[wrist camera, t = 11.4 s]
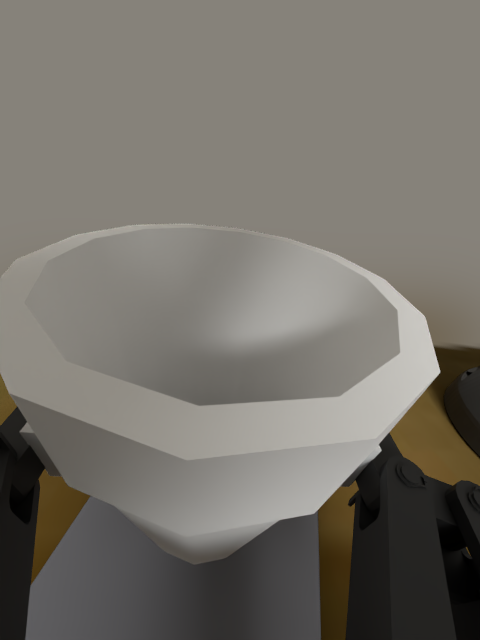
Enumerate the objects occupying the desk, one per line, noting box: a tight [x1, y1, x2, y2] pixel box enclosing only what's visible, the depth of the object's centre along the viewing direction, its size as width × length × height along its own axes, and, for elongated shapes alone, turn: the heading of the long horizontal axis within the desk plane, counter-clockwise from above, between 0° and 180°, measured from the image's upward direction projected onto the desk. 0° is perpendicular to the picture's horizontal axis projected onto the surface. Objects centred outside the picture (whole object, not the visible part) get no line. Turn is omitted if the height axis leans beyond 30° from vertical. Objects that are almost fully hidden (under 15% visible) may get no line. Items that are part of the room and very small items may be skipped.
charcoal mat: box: [25, 496, 321, 640], centre depth 15 cm, size 14×14×1 cm
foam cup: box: [0, 224, 440, 565], centre depth 10 cm, size 10×9×13 cm
